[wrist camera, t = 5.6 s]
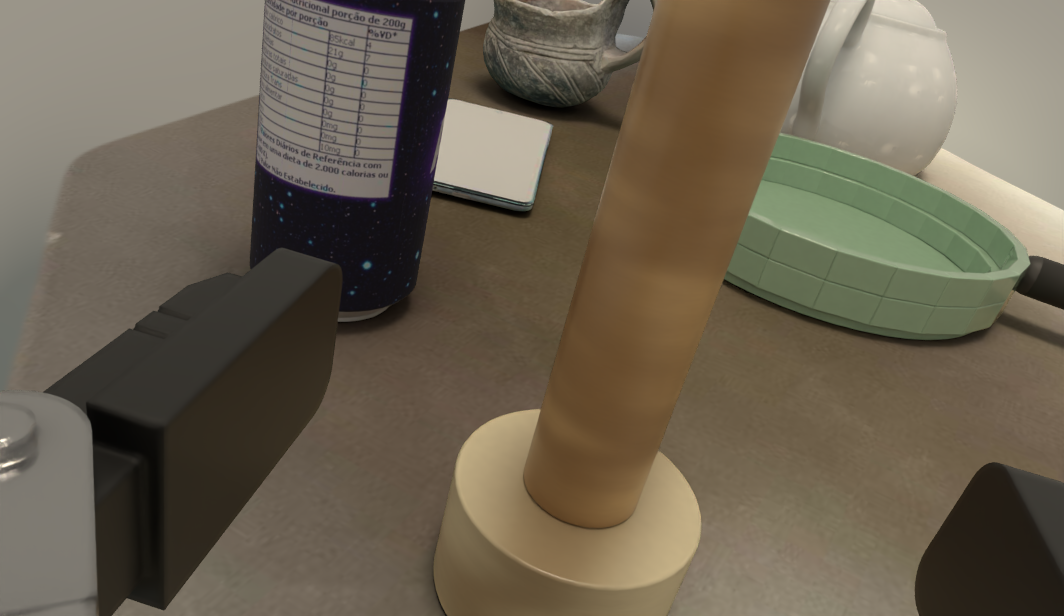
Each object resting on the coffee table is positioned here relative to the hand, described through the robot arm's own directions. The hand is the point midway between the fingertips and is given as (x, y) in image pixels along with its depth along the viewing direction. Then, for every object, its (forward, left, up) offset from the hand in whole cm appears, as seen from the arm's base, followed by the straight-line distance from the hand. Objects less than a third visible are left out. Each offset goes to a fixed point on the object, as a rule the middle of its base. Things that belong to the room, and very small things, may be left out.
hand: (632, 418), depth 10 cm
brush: (-1, +5, -9) cm, 11 cm away
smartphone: (-17, +30, -9) cm, 36 cm away
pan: (+1, +35, -9) cm, 37 cm away
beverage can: (-13, +12, -9) cm, 20 cm away
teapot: (-2, +60, -9) cm, 61 cm away
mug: (-19, +45, -9) cm, 50 cm away
